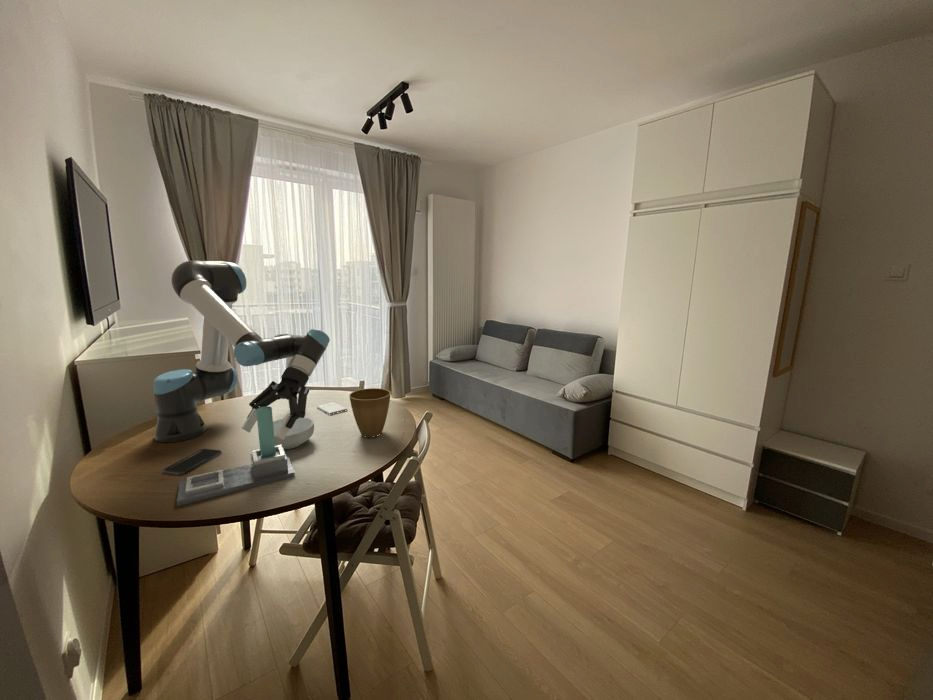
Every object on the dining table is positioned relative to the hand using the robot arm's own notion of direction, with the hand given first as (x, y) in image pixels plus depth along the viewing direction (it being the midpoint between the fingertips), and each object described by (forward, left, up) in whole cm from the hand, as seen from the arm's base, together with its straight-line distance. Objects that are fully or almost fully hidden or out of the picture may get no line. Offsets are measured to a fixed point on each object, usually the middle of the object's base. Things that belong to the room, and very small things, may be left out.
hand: (262, 434), depth 110 cm
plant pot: (+10, +38, -14) cm, 42 cm away
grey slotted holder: (-5, -5, -13) cm, 15 cm away
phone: (-28, -3, -14) cm, 31 cm away
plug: (0, +2, -8) cm, 8 cm away
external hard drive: (-22, +53, -14) cm, 59 cm away
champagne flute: (-39, +49, -14) cm, 64 cm away
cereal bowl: (-11, +19, -14) cm, 26 cm away
